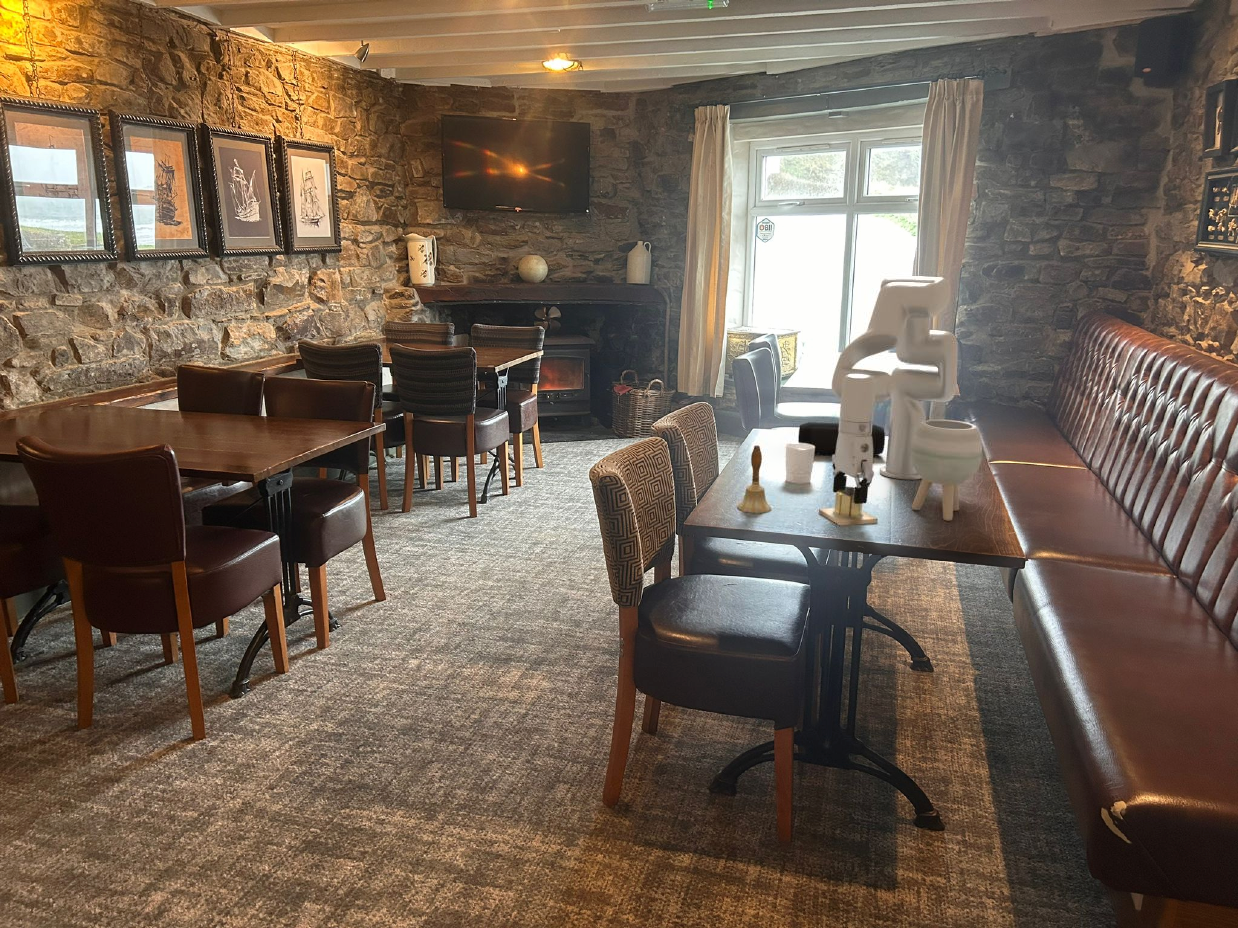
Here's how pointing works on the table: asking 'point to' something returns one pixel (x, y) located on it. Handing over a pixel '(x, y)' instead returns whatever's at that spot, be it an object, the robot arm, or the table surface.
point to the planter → (945, 459)
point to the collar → (846, 505)
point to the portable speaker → (834, 437)
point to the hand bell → (755, 488)
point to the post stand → (845, 520)
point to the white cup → (799, 462)
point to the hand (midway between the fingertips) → (849, 497)
